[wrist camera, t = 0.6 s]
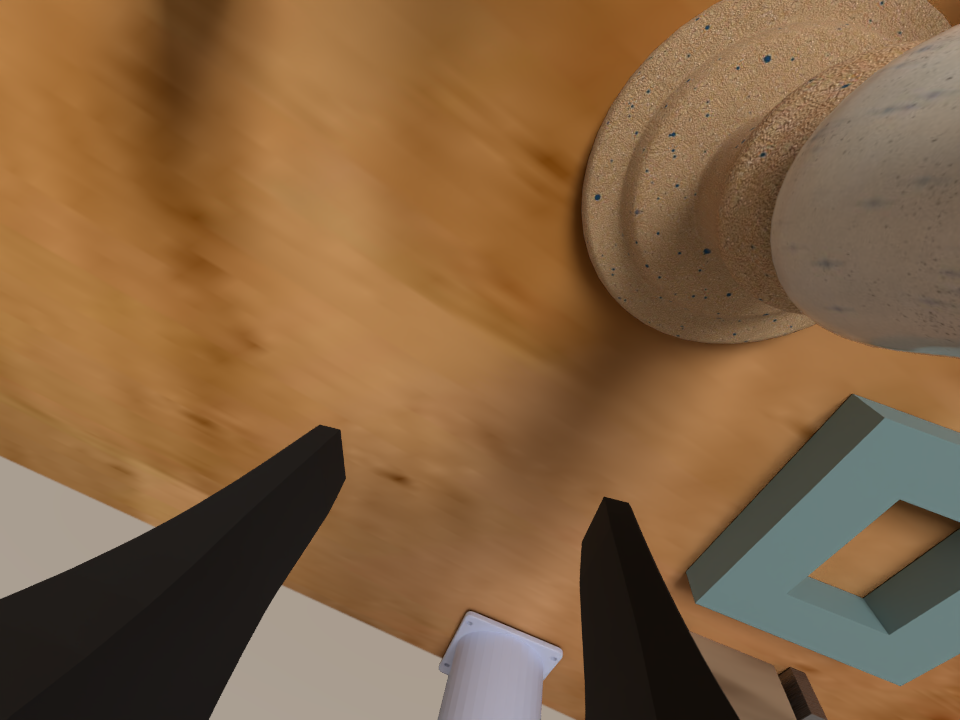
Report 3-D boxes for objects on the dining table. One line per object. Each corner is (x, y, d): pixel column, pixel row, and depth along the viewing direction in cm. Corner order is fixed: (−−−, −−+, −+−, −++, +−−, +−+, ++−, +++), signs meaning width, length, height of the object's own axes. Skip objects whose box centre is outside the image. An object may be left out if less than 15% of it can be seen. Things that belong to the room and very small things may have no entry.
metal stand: (757, 704, 28) (774, 750, 25) (631, 652, 28) (637, 692, 26) (805, 673, 25) (827, 720, 23) (666, 617, 26) (676, 657, 24)
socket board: (875, 647, 23) (900, 686, 21) (685, 571, 24) (695, 603, 22) (1121, 492, 17) (1187, 528, 15) (852, 393, 17) (885, 417, 16)
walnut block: (737, 689, 28) (769, 786, 23) (658, 656, 28) (675, 746, 23) (773, 663, 26) (815, 764, 21) (687, 629, 26) (712, 720, 22)
